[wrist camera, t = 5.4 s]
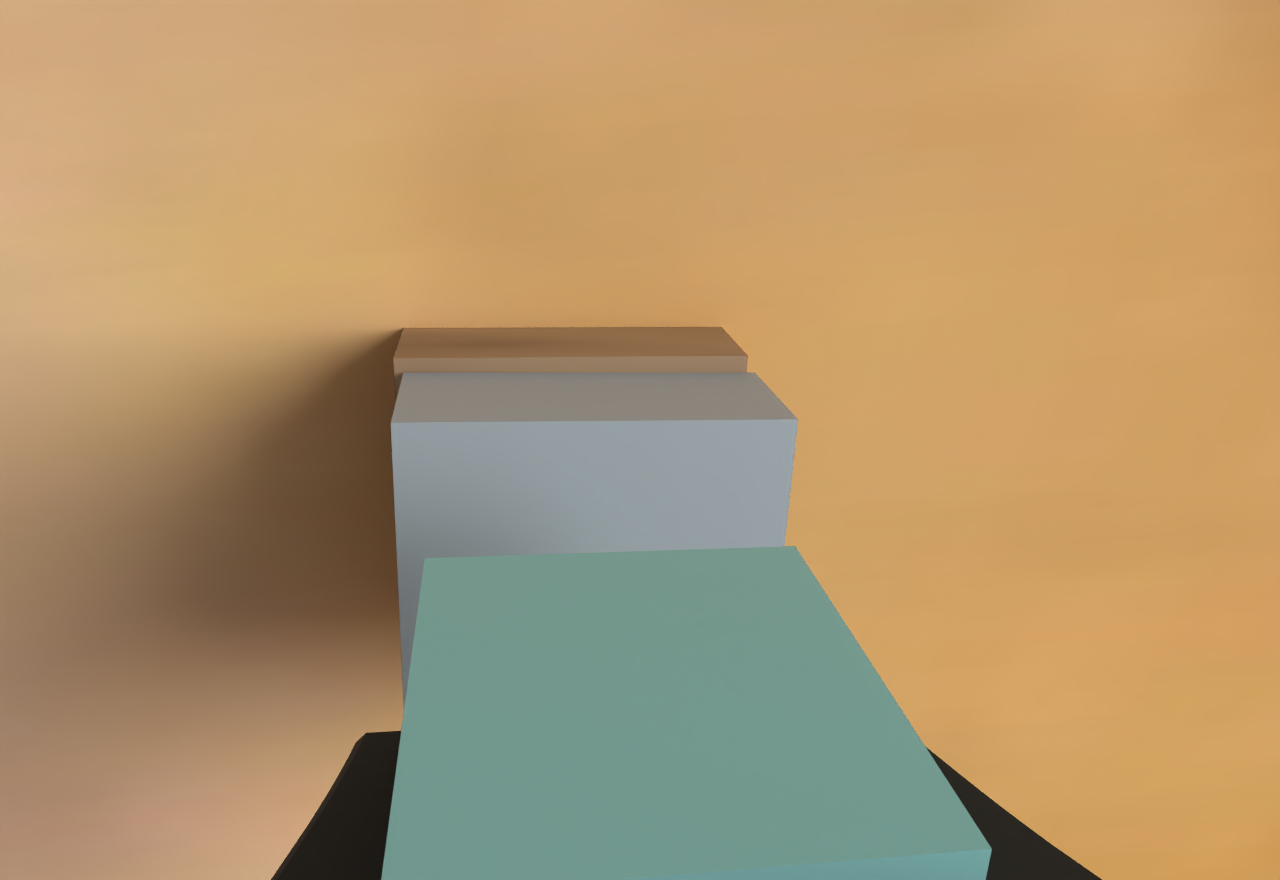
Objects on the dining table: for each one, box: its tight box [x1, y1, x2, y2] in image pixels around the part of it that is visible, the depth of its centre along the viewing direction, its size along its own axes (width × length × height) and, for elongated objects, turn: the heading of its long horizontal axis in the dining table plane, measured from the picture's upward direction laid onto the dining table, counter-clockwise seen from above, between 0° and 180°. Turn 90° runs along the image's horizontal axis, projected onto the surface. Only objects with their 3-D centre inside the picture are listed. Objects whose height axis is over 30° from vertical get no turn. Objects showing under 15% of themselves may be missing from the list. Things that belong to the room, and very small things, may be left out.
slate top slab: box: [391, 373, 798, 708], centre depth 16 cm, size 6×6×2 cm
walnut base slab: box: [393, 327, 748, 400], centre depth 19 cm, size 6×6×2 cm
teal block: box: [381, 546, 992, 880], centre depth 10 cm, size 4×4×5 cm
